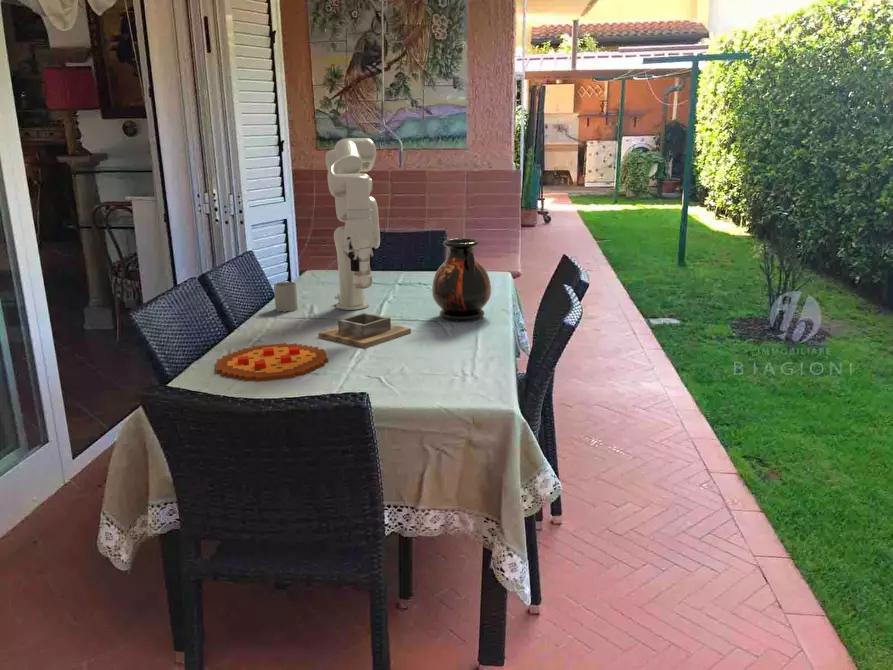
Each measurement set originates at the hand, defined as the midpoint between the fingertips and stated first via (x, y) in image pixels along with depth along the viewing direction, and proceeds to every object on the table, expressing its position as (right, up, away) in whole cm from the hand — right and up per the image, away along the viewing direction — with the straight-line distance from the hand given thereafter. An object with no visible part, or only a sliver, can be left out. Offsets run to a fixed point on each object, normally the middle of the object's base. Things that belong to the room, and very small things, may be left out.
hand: (361, 269), depth 240 cm
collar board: (0, -22, +6) cm, 22 cm away
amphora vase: (+34, -15, +27) cm, 46 cm away
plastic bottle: (0, -6, +2) cm, 7 cm away
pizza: (-24, -31, -21) cm, 44 cm away
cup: (-34, -12, +43) cm, 56 cm away
